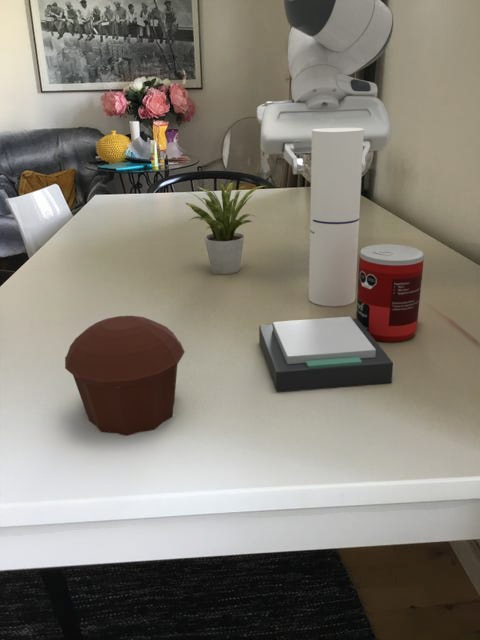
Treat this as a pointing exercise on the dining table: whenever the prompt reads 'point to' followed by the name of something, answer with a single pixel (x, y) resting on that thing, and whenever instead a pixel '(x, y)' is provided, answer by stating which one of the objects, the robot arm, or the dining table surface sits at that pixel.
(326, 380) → the kitchen scale
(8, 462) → the dining table surface
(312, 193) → the cylindrical container
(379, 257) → the canned food
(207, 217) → the house plant
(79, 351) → the muffin
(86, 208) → the dining table surface
